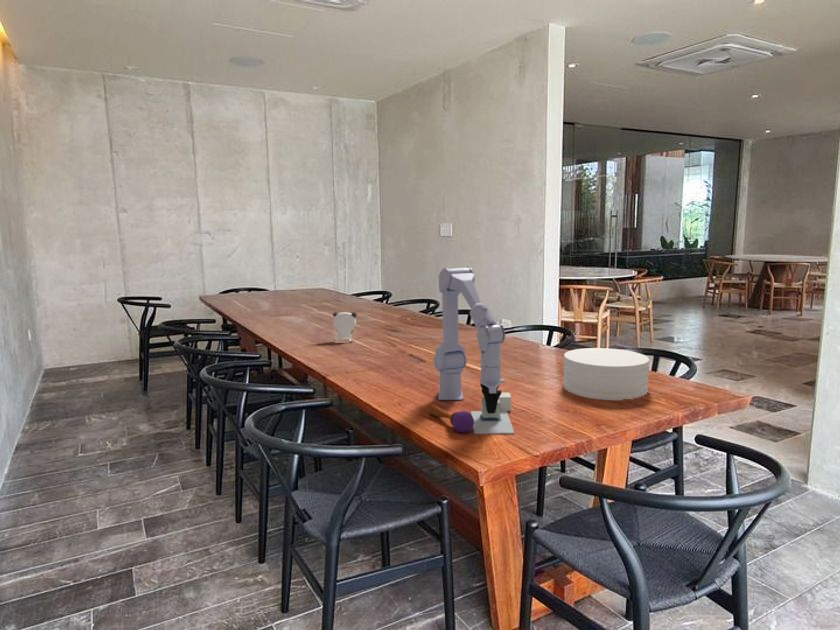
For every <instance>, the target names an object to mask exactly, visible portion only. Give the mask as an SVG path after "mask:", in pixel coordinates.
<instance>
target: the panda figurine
mask: <svg viewBox="0 0 840 630" xmlns="http://www.w3.org/2000/svg"><path fill="white" fill-rule="evenodd" d="M332 316H333V317H334V319H333V326H334V328H335V330H336V332H337V339H336V340H337V341H339V339H349V341H351V339H352V334H353V332H354V331H353V330H354V329H355V327H356V325H357V321H356V317H357V316H358V315H357V312H356V311H353V312H352V313H350V312H347V311H345V312H337V311H334V312H333V314H332Z"/></svg>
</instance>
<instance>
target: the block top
mask: <svg viewBox="0 0 840 630" xmlns="http://www.w3.org/2000/svg"><path fill="white" fill-rule="evenodd" d="M499 401H500V411H507V412H512V395H511V393H510V392H502V393H501V395H500V397H499Z"/></svg>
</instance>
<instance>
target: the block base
mask: <svg viewBox="0 0 840 630" xmlns="http://www.w3.org/2000/svg"><path fill="white" fill-rule="evenodd" d="M481 411H482V416H483V418H500V401H499V399H498V402H497V407H496V411H495V413H488V412H487V407H486V401H485V398H484V397H481Z"/></svg>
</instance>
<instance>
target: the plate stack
mask: <svg viewBox="0 0 840 630" xmlns="http://www.w3.org/2000/svg"><path fill="white" fill-rule="evenodd" d="M563 360H564V361H563V386H562V387H563V389H564V390H566V391H567V392H568V393H571V394H574V395H576V396H580V397H584V398H588V399H595V400H601V399H602V400H603V401H624V400H623V399H631V400H634V399H633V398H637V399H639V398H638V397H641V396H643V397H645V396H646V395H647V394H648V393H649V388H648V386H649V377H650V375H649V372H650V366H649V365H650V358H649V357H648V356H646V355H645V354H643V353H639V352H636V351H631V350H626V349H619V348H606V347H605V348H604V347H589V348H587V347H585V348H576V349H571V350H568V351H566V352H565V353H564V354H563ZM647 392H648V393H647ZM645 394H646V395H645ZM644 395H645V396H644ZM641 398H642V397H641Z"/></svg>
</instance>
